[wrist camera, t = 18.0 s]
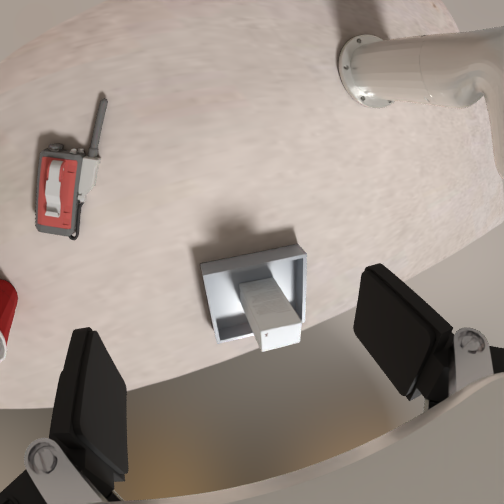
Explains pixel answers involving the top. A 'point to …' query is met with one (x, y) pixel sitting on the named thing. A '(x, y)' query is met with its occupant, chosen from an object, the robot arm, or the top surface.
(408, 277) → the top surface
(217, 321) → the tray
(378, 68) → the robot arm
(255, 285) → the skincare box
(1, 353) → the plastic cup
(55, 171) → the walkie-talkie
